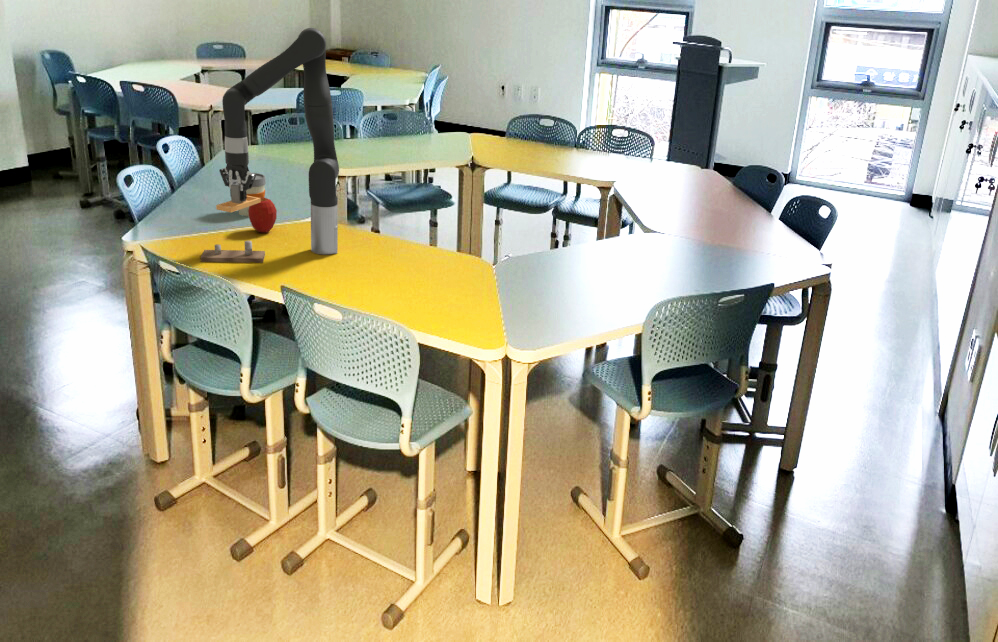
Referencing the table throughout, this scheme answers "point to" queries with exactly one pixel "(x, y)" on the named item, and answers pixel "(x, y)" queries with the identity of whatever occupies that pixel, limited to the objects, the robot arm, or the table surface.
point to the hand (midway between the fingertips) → (238, 199)
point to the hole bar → (237, 201)
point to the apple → (263, 215)
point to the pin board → (233, 255)
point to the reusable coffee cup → (255, 191)
